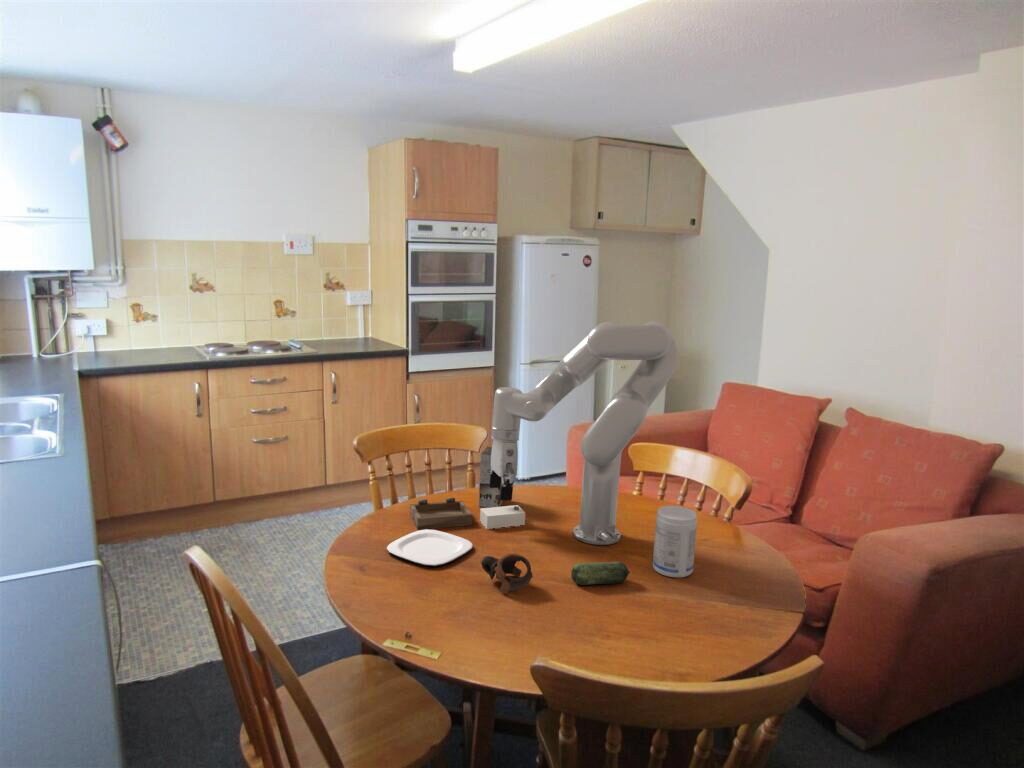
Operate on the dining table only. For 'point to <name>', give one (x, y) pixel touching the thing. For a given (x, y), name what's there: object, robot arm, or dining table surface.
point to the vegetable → (599, 573)
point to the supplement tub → (674, 541)
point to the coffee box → (488, 483)
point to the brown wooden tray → (440, 514)
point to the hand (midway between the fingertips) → (500, 493)
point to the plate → (430, 547)
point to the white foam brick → (502, 516)
